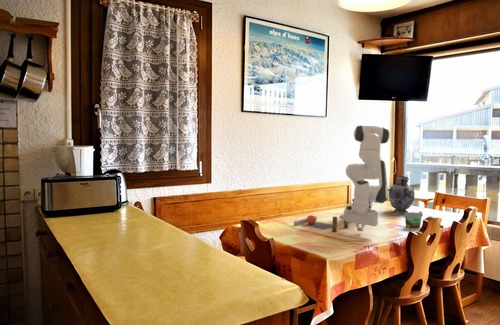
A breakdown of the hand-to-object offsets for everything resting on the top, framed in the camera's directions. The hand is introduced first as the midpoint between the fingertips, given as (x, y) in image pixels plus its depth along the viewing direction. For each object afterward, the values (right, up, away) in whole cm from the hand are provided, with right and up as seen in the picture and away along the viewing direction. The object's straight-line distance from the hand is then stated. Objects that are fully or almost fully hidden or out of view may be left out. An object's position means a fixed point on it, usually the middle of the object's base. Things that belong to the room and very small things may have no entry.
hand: (360, 231), depth 223 cm
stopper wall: (-29, +1, +26) cm, 39 cm away
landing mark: (-20, 0, +18) cm, 27 cm away
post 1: (-15, -1, +3) cm, 15 cm away
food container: (+41, -1, +18) cm, 45 cm away
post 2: (-5, -1, +14) cm, 15 cm away
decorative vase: (+52, +2, +69) cm, 86 cm away
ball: (-26, +3, +21) cm, 33 cm away
